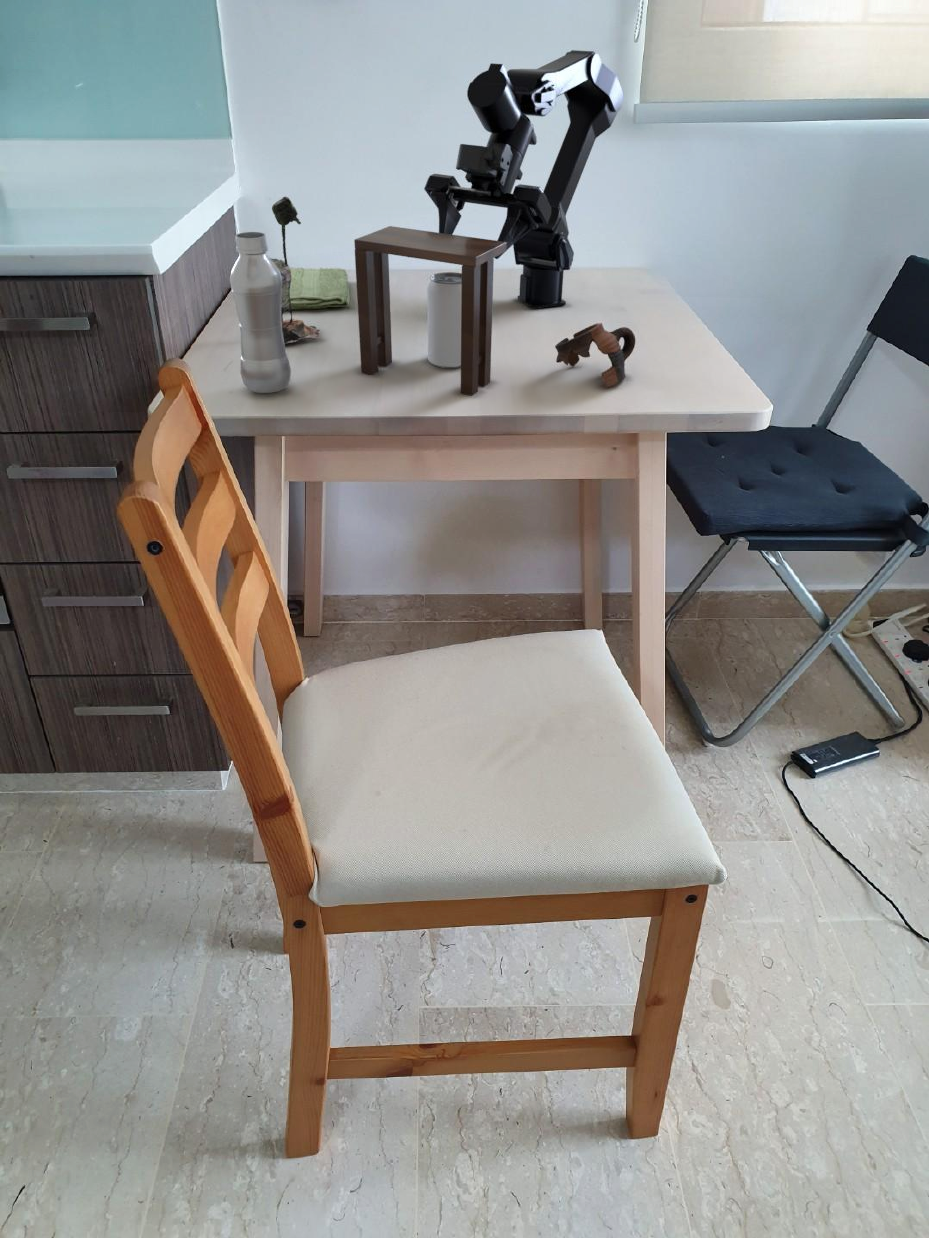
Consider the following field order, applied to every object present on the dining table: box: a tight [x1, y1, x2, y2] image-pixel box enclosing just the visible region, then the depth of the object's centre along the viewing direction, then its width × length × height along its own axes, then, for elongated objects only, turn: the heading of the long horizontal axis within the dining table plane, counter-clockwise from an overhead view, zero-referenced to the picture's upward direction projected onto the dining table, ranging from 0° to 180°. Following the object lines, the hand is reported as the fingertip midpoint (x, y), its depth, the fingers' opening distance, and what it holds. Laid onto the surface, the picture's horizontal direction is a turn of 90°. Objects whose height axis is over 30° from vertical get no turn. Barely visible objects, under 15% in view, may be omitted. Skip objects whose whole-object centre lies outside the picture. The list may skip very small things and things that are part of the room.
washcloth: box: [287, 266, 351, 311], centre depth 161 cm, size 13×18×3 cm
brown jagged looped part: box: [554, 322, 636, 389], centre depth 131 cm, size 12×10×8 cm
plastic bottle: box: [229, 231, 292, 394], centre depth 120 cm, size 6×7×20 cm
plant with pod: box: [269, 196, 320, 344], centre depth 137 cm, size 8×11×20 cm
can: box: [426, 271, 462, 369], centre depth 132 cm, size 6×6×12 cm
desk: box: [354, 225, 507, 397], centre depth 127 cm, size 9×18×18 cm, turn 62°
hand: (467, 253), depth 134 cm, fingers open, 9 cm apart
